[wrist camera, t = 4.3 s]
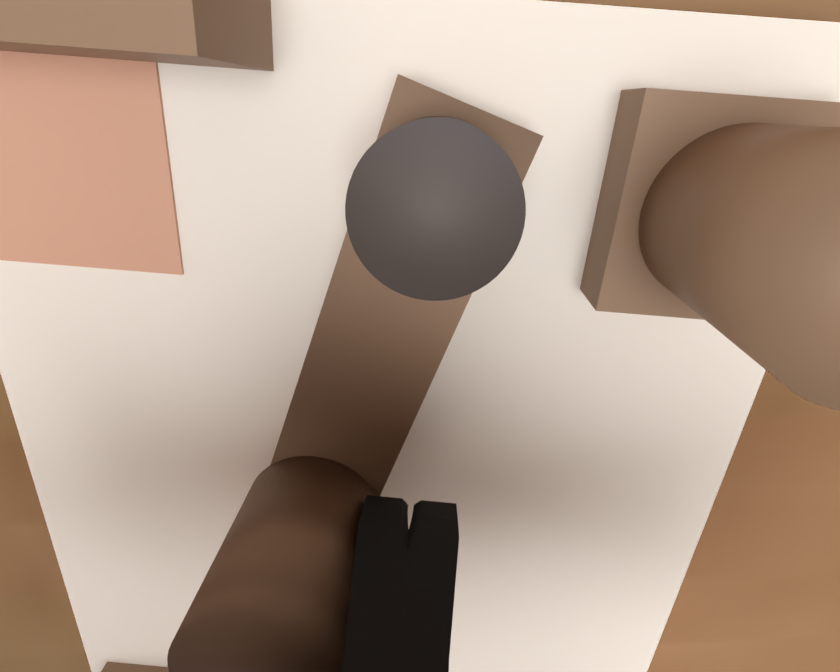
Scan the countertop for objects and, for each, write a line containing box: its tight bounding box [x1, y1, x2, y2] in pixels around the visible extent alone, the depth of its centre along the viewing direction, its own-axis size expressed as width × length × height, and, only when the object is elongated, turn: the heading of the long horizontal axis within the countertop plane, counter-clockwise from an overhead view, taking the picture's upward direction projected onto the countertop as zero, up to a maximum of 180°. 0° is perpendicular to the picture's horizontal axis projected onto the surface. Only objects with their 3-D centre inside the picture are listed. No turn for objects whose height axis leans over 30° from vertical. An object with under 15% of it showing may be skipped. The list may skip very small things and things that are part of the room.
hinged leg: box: [167, 74, 543, 672], centre depth 7 cm, size 8×2×4 cm, turn 159°
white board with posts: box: [0, 0, 840, 672], centre depth 10 cm, size 19×14×6 cm
